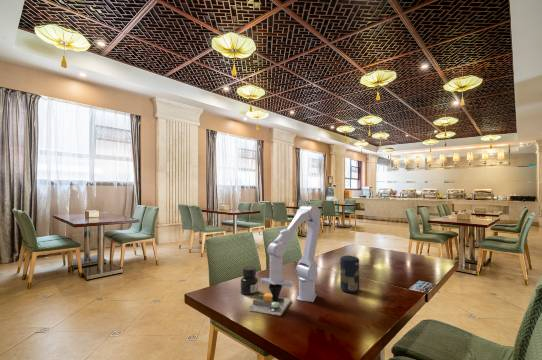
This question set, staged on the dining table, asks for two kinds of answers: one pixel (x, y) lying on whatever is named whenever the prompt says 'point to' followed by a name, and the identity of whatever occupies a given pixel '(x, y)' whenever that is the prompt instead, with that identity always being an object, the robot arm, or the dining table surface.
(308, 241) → the robot arm
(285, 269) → the dining table surface
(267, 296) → the toggle
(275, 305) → the button
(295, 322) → the dining table surface
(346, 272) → the canister
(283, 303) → the panel
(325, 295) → the dining table surface
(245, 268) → the ink bottle
